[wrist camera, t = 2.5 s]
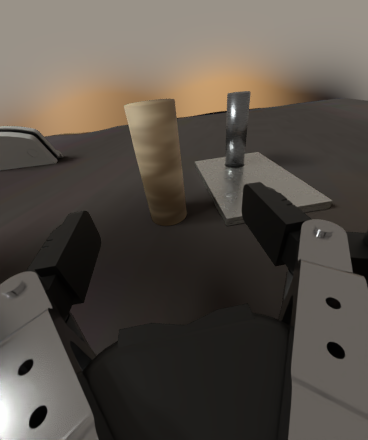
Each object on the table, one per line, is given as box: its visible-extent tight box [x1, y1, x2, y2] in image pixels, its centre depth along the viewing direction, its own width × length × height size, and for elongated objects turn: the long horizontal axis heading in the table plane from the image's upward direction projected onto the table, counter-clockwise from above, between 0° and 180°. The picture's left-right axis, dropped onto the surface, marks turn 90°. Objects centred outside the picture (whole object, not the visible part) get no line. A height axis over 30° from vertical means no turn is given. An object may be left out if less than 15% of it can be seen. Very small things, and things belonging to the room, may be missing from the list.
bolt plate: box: [195, 91, 332, 226], centre depth 25 cm, size 12×18×11 cm, turn 8°
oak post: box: [124, 99, 187, 226], centre depth 20 cm, size 4×4×12 cm
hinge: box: [0, 126, 63, 170], centre depth 44 cm, size 17×5×10 cm, turn 95°
